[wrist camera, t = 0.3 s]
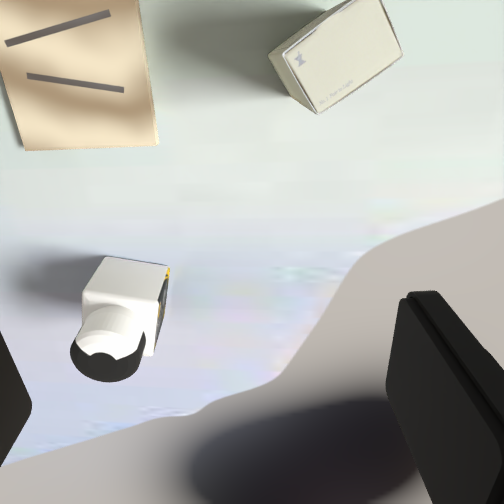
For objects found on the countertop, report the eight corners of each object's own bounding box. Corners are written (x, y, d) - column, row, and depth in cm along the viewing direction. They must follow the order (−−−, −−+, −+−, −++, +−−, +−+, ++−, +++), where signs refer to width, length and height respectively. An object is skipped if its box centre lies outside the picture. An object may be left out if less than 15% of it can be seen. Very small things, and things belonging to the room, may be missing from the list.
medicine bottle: (164, 315, 46) (141, 396, 35) (103, 306, 45) (60, 387, 34) (170, 265, 42) (147, 337, 32) (104, 254, 42) (58, 325, 31)
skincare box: (291, 98, 35) (314, 121, 24) (265, 52, 33) (277, 55, 22) (353, 55, 33) (408, 58, 22) (329, 4, 31) (376, -19, 21)
